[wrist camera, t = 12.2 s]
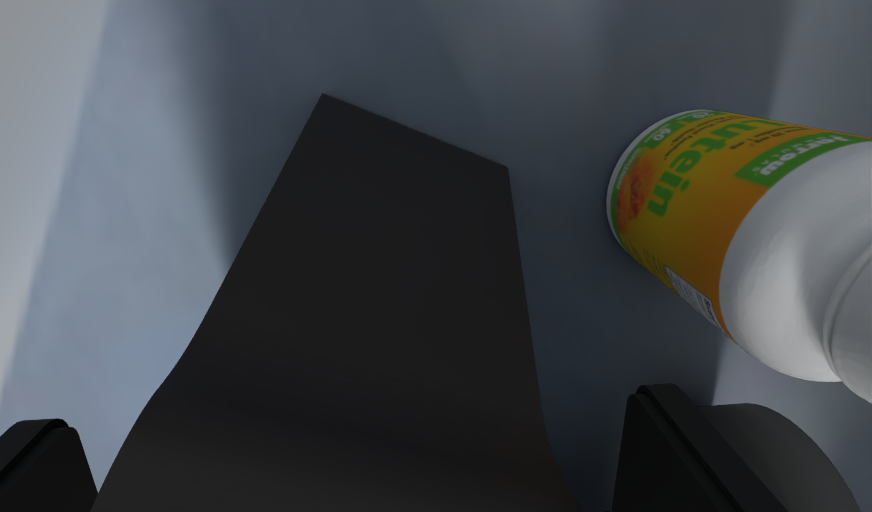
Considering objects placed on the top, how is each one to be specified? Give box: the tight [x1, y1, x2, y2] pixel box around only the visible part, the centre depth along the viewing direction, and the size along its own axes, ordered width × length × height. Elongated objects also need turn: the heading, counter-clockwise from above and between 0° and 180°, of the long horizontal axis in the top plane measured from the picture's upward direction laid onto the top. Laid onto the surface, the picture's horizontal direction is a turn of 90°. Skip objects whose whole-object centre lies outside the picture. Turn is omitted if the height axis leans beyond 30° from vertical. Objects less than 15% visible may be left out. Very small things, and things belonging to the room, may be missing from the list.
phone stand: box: [90, 93, 583, 512], centre depth 11 cm, size 9×6×12 cm, turn 157°
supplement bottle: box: [606, 110, 872, 404], centre depth 12 cm, size 5×5×10 cm
